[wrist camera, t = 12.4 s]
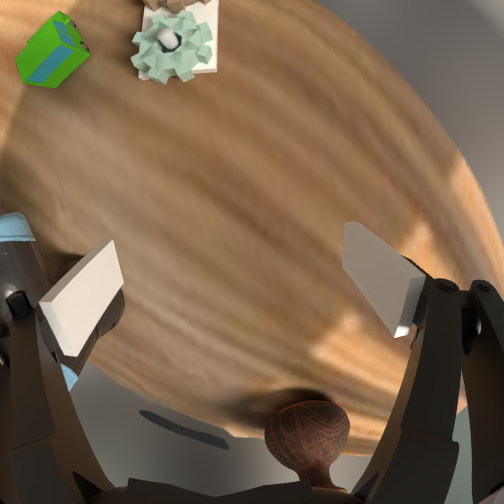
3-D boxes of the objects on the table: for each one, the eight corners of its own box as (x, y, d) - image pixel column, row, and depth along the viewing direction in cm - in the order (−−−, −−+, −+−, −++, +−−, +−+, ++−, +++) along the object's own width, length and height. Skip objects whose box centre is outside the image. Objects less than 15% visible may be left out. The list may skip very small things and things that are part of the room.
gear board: (138, 81, 31) (114, 68, 23) (150, -26, 22) (135, -52, 14) (221, 71, 32) (217, 52, 23) (224, -36, 23) (222, -66, 14)
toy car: (76, 12, 23) (47, -5, 14) (99, 52, 28) (67, 36, 19) (36, 50, 25) (4, 41, 16) (55, 93, 30) (19, 88, 20)
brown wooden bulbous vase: (250, 428, 64) (257, 522, 36) (279, 385, 56) (299, 505, 28) (318, 431, 67) (338, 513, 40) (356, 390, 59) (392, 486, 32)
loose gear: (139, 88, 30) (129, 83, 26) (143, 28, 26) (134, 18, 22) (212, 80, 30) (209, 73, 27) (214, 18, 26) (211, 7, 23)
